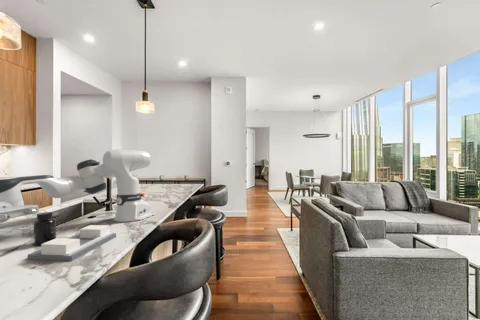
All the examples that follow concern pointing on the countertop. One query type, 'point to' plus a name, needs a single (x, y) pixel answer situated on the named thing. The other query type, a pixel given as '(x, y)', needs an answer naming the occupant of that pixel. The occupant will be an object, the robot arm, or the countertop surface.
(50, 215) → the supplement bottle
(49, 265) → the countertop surface
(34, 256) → the rail panel
